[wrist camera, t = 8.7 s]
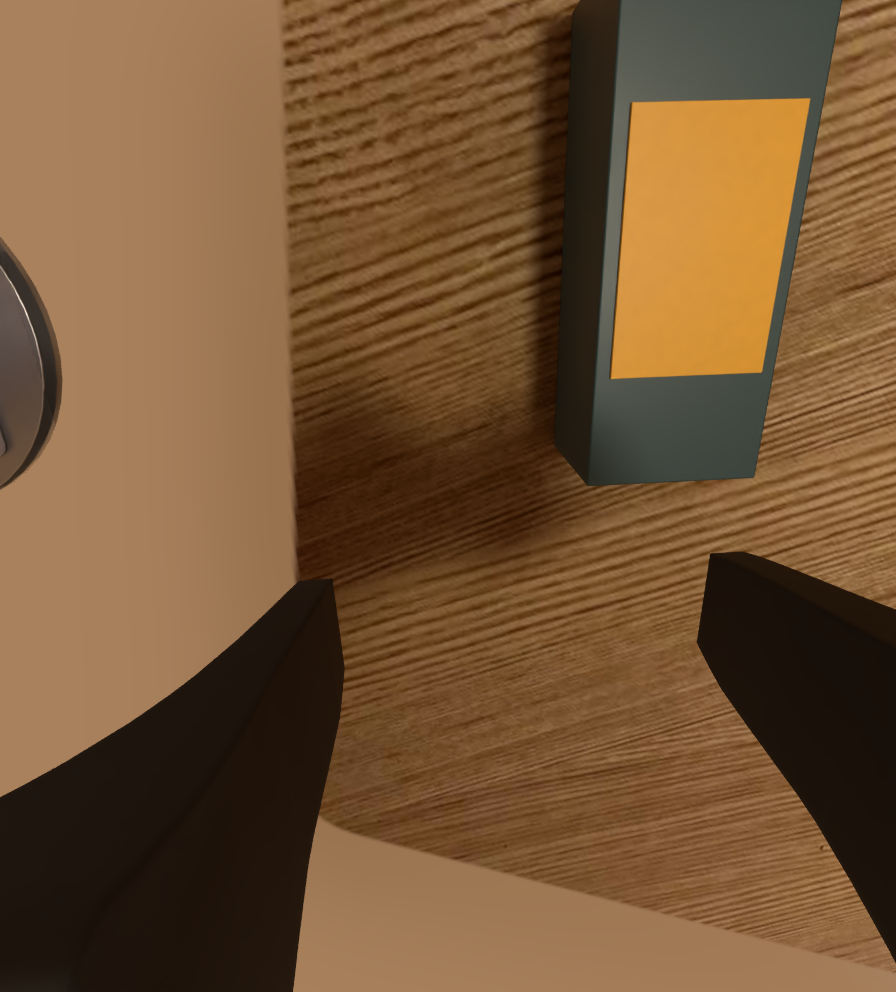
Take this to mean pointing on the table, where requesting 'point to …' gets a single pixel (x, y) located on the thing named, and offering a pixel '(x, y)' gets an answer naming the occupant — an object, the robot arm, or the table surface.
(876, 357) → the table surface
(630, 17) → the packet
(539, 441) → the table surface
